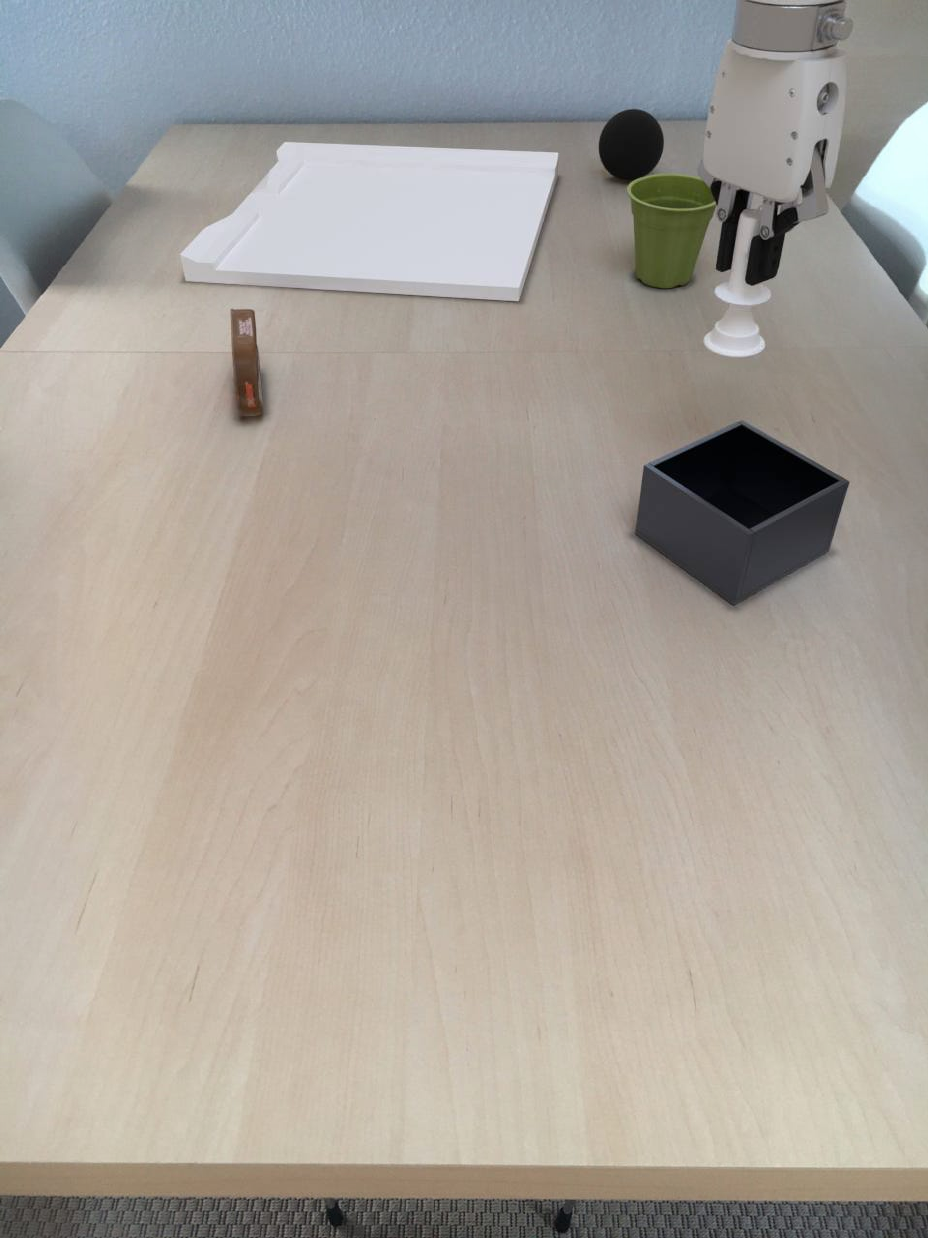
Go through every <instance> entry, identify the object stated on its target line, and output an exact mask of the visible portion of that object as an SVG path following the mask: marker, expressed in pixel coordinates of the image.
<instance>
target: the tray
mask: <svg viewBox="0 0 928 1238" xmlns="http://www.w3.org/2000/svg"><path fill="white" fill-rule="evenodd" d="M276 159H277V162H276V163H275V164H274V165H273V167H272V168H271V169H270V170H269V171H268V172H267V174H266V175H265V176H264V177H263V178H262V179H261V180H260V181H259V183H258V184H257V185H256V186H255V187H254V189H253V190H252V191H251V192H250V193H249V194H248V196H246V198H244V199H243V201H242V202H241V203H240V204H239V205H238V206H237V208H236V209H235V210H234V211H233V212H232V213H231V214H230V215H228V216H226V217H223V218H221V219H219V220H217V221H216V222H214V223H212V224H210V225H208V226H206V227H204V228H203V229H202V230H201V231H200V232H199V233H198V234H197V236H195V238H194V239H192V241H191V242H190V243H189V244H188V245H187V246H186V248H184V249H183V250H182V251H181V253H180V254H179V257H180V258H179V259H180V263H181V266H182V271H183V276H184V280H185V282H192V283H193V282H195V283H207V284H208V283H209V284H210V283H211V284H226V285H242V286H243V285H244V286H259V287H277V288H290V289H291V288H292V289H293V288H294V289H308V290H323V291H324V290H325V291H340V292H341V291H343V292H358V293H373V294H391V295H409V296H424V297H426V296H427V297H441V298H455V299H456V298H458V299H470V300H471V299H472V300H489V301H507V302H520V300H521V296H522V293H523V289H524V287H525V283H526V280H527V277H528V273H529V270H530V267H531V264H532V261H533V257H534V254H535V251H536V247H537V244H538V241H539V238H540V234H541V231H542V228H543V225H544V221H545V218H546V216H547V212H548V208H549V206H550V202H551V200H552V197H553V193H554V189H555V187H556V182H557V180H558V176H559V175H558V174H559V152H554V151H553V152H551V151H530V150H529V151H528V150H527V151H526V150H525V151H524V150H505V149H504V150H502V149H501V150H499V149H476V148H475V149H474V148H472V149H471V148H452V147H451V148H450V147H425V146H399V145H397V146H395V145H392V146H391V145H375V144H373V145H371V144H349V143H348V144H346V143H323V142H322V143H321V142H318V143H317V142H294V141H292V142H291V141H285V142H283V143H282V144H281V146H279V148H278V149H277V150H276Z"/></svg>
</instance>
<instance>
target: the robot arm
mask: <svg viewBox="0 0 928 1238" xmlns="http://www.w3.org/2000/svg"><path fill="white" fill-rule="evenodd" d="M847 2H848V0H736V1H735V8H734V16H733V23H732V31H731V38H729V39H728V40H727V41H726V43H725V46H724V49H723V52H722V55H721V58H720V62H719V65H718V68H717V72H716V76H715V81H714V83H713V84H714V85H713V88H712V93H711V99H710V103H709V109H708V113H707V120H706V126H705V133H704V139H703V150H702V151H703V152H702V158H701V160H700V162H699V164H698V165H697V170H696V172H697V175H698V177H699V178H701V179H702V180H703V181H704V182H705V183H706V185H707V186H708V187H709V188H711V193H712V195H713V197H714V200H715V202H716V204H717V206H716V214H715V216H716V219H717V220H718V221H719V222H720V223H721V228H720V233H719V234H720V235H719V241H718V242H719V244H718V247H717V255H716V262H715V270H716V271H718V272H719V273H724V272H727V271H731V266H732V260H733V253H734V247H735V241H736V234H737V228H738V223H739V218H740V215H741V213H742V212H743V210H745V209H752V204H753V198H754V194H755V195H757V196H760V197H762V203H761V205H762V206H761V209H760V210H761V218H760V227H759V234H760V235H757V236H754V237H753V238H752V240H751V246H750V252H749V258H748V264H747V270H746V276H745V281H746V284H748V285H751V286H754V285H756V284H759V283H760V284H761V283H764V282H766V281H770V280H773V279H774V278H775V277H776V276H777V275H778V273H779V268H780V265H781V259H782V253H783V248H784V243H785V238H786V233H790V232H791V231H793V230H794V228H796V226H798V225H799V224H801V223H803V222H807V221H811V220H815V219H818V218H820V217H824V216H825V215H827V214H828V212H829V202H828V195H827V190H829V189H830V188H831V187H832V184H833V181H834V178H835V173H836V169H837V163H838V157H839V152H840V146H841V140H842V133H843V126H844V117H845V109H846V98H847V97H846V95H847V71H848V68H847V67H848V66H847V65H848V64H847V51H845V50H842V49H841V48H838V47H839V41H842V42H843V41H846V40H848V38H849V37H850V36H851V34H852V32H853V28H854V22H853V19H851V18H849V17H846V16H845V12H846V7H847ZM800 190H801V195H802V200H801V203H800V204H798V202H799V195H800ZM779 206H780V207H779Z"/></svg>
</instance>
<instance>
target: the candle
mask: <svg viewBox="0 0 928 1238" xmlns="http://www.w3.org/2000/svg"><path fill="white" fill-rule="evenodd" d="M761 208H762V204H760V205H759V206H758V207H757V208H751V209H745V210H743V212H742V213H741V215H740V218H739V223H738V228H737V234H736V241H735V247H734V253H733V260H732V266H731V269H730V273H729V279H728V281H725V282H722V283H719V284H718V285H717V286H715V289H714V295H715V296H716V297H717V298H718V299H719V300H720V301H722V302H724V303H725V304H727V305H729V307H728V308H727V310H726V312H725V314H724V315H723V317H722V318H721V319H720V320H718V321H716V322H715V324H714V326H713V329H712V330H710V331H709V332H708V333H707V334H705V335H704V337H703V345H704V346H705V348H706V349H708V350H709V351H710V352H712V353H714V354H717V355H719V356H722V357H727V358H749V357H754V356H756V355H758V354H760V353H761V352H763V351H764V349H765V348H766V340H765V339H764V338H763V337H762V335H760V327H759V325H758V324H757V323H756V322H755V319H754V316H753V313H752V307H755V306H758V305H761V304H764V303H766V302H767V301H769V300H770V298H771V297H772V292H771V291H770V289H769V288H768V287H766V286H765V285H763V284H761V283H759V284H756V285H754V286H751V285H748V284H746V281H745V276H746V270H747V264H748V258H749V252H750V246H751V240H752V238H753V237H754V236H757V235H760V234H759V227H760V218H761V210H762V209H761Z"/></svg>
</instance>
